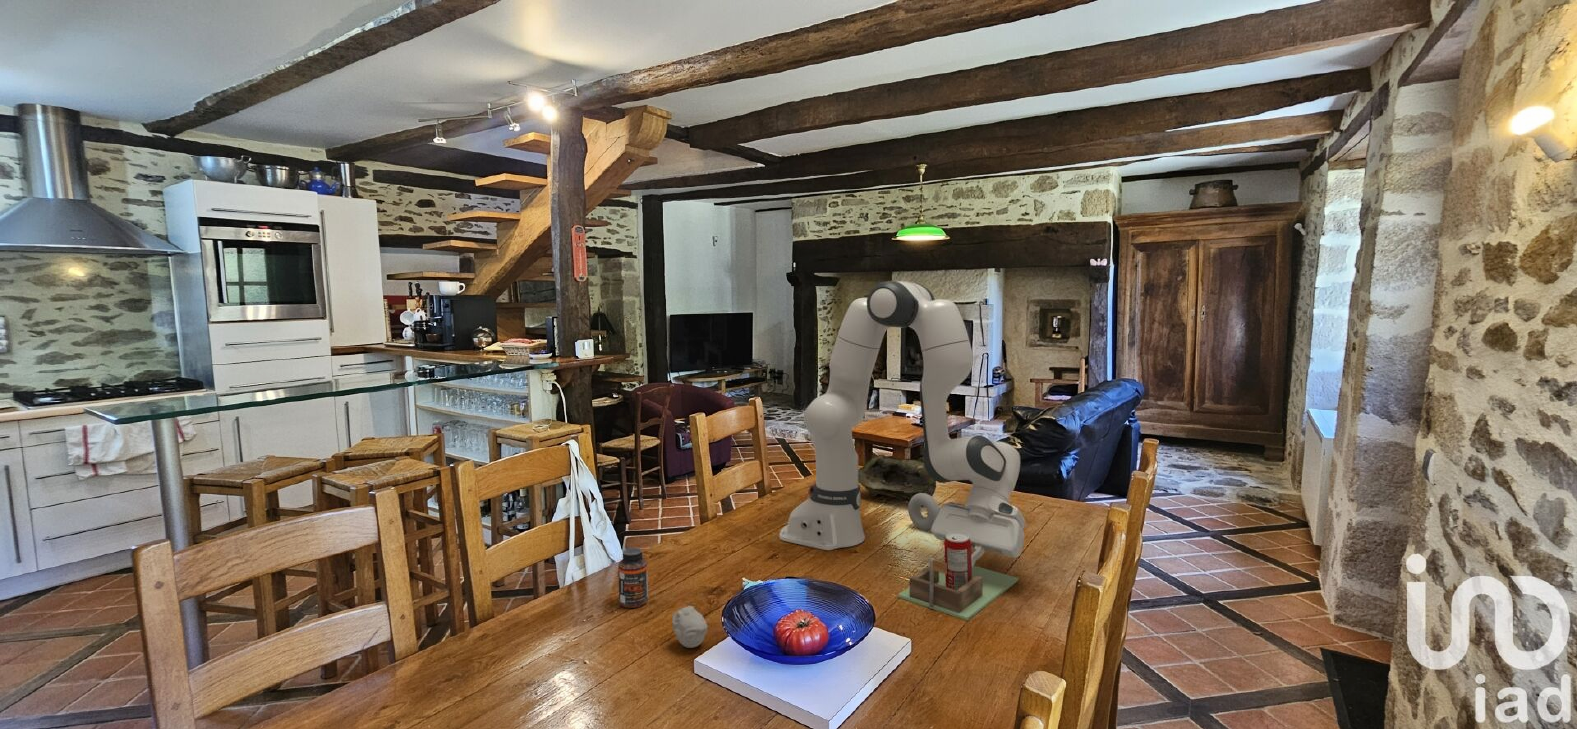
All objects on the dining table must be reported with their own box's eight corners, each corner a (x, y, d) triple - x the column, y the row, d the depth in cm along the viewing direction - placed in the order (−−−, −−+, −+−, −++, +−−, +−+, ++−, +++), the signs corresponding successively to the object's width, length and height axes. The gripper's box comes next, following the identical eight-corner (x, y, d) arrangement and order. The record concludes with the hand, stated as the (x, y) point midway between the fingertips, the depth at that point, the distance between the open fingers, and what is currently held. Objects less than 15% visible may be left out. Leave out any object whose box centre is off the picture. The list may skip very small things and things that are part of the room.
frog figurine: (690, 633, 129) (688, 598, 128) (715, 645, 124) (714, 608, 124) (665, 646, 124) (664, 610, 123) (691, 659, 120) (690, 621, 119)
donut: (942, 532, 180) (943, 496, 179) (934, 535, 178) (935, 499, 177) (913, 523, 188) (913, 488, 187) (905, 526, 185) (905, 490, 184)
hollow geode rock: (937, 526, 199) (959, 483, 204) (918, 503, 192) (942, 460, 197) (867, 501, 220) (889, 463, 225) (847, 480, 213) (871, 442, 218)
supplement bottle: (623, 612, 138) (620, 558, 137) (616, 600, 143) (614, 548, 142) (651, 605, 140) (649, 553, 139) (644, 594, 146) (642, 543, 145)
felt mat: (952, 562, 160) (952, 559, 160) (1018, 580, 150) (1018, 578, 150) (897, 597, 143) (897, 594, 142) (967, 620, 132) (967, 617, 132)
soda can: (963, 579, 148) (961, 528, 146) (977, 590, 143) (976, 537, 141) (940, 584, 146) (939, 532, 144) (954, 596, 141) (952, 542, 139)
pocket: (934, 580, 149) (934, 537, 148) (982, 595, 141) (983, 549, 140) (906, 598, 140) (906, 552, 139) (956, 615, 133) (956, 566, 132)
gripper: (939, 493, 158) (918, 546, 151) (1025, 510, 144) (1006, 569, 138) (948, 507, 161) (928, 559, 155) (1033, 524, 148) (1014, 582, 142)
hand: (965, 564), depth 146 cm, fingers closed, pressing on soda can
